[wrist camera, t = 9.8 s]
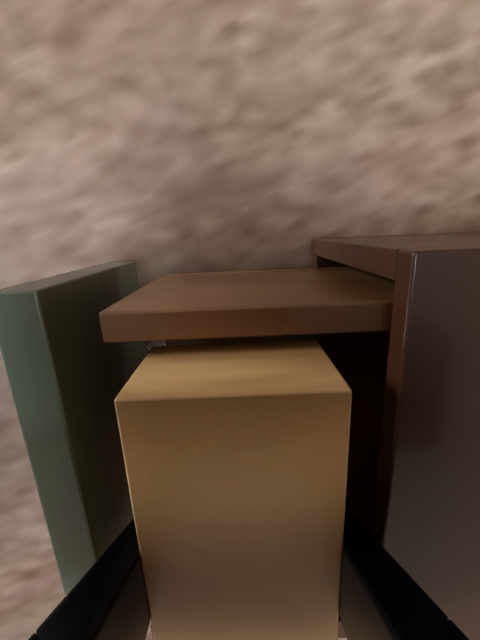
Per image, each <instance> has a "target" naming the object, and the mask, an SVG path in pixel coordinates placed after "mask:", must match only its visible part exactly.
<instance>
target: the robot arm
mask: <svg viewBox="0 0 480 640" xmlns="http://www.w3.org/2000/svg"><path fill="white" fill-rule="evenodd" d="M339 614H340V617H341V620H342V624H343V627H344V630H345V634H346V637H347V640H469V639H468V637H467V636H466V635H465V634H464V633H463V632H462V631H461V630H460V629H459V628H458V627H457V626H456V625H455V624H454V622H453V621H452V620H448V616H447V615H446V614H445V613H444V612H443V611H442V610H441V609H440V608H439V606H438V605H437V604H436V603H435V602H434V601H433V600H432V599H431V598H430V597H429V596H428V595H427V594H426V592H425V591H424V590H423V589H422V588H421V587H420V586H419V585H418V584H417V583H416V582H415V581H414V580H413V578H412V577H411V576H410V575H409V574H408V573H407V572H406V571H405V570H404V569H403V568H402V567H401V566H400V564H399V563H398V562H397V561H396V560H395V559H394V558H393V557H392V556H391V555H390V554H389V553H388V552H387V551H386V549H385V548H384V547H383V546H382V545H381V544H380V543H379V542H378V541H377V540H376V539H375V538H374V537H373V535H372V534H371V533H370V532H369V531H368V530H367V529H366V528H365V527H364V526H363V525H362V524H361V523H360V521H359V520H358V519H357V518H356V517H355V516H354V515H353V514H352V513H351V512H350V511H349V510H348V509H347V507H346V506H345V519H344V535H343V548H342V562H341V579H340V595H339ZM150 618H151V615H150V609H149V603H148V597H147V591H146V585H145V579H144V573H143V567H142V561H141V555H140V551H139V545H138V539H137V533H136V527H135V522H134V518H133V519H132V521H131V522H130V523H129V524H128V525H127V526H126V528H125V529H124V530H123V531H122V532H121V533H120V534H119V536H118V537H117V538H116V539H115V540H114V541H113V543H112V544H111V545H110V546H109V547H108V548H107V549H106V551H105V552H104V553H103V554H102V555H101V556H100V558H99V559H98V560H97V561H96V562H95V563H94V564H93V566H92V567H91V568H90V569H89V570H88V571H87V573H86V574H85V575H84V576H83V577H82V578H81V579H80V581H79V582H78V583H77V584H76V585H75V586H74V588H73V589H72V590H71V591H70V592H69V593H68V594H67V596H66V597H65V598H64V599H63V600H62V601H61V603H60V604H59V605H58V606H57V607H56V608H55V609H54V611H53V612H52V613H51V614H50V615H49V616H48V618H47V619H46V620H45V621H44V622H43V623H42V624H41V626H40V627H39V628H38V629H37V631H36V634H35V633H34V634H33V635H32V636H31V637H30V638H29V639H28V640H145V638H146V634H147V630H148V626H149V622H150Z"/></svg>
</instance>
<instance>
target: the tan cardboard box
mask: <svg viewBox="0 0 480 640" xmlns="http://www.w3.org/2000/svg"><path fill="white" fill-rule="evenodd" d="M351 401H352V390H351V388H350V387H349V385H348V384H347V382H346V381H345V380H344V378H343V377H342V375H341V374H340V373H339V371H338V370H337V368H336V367H335V365H334V364H333V363H332V361H331V360H330V358H329V357H328V356H327V354H326V353H325V351H324V350H323V349H322V347H321V346H320V344H319V343H318V341H317V340H300V341H276V342H252V343H228V344H204V345H180V346H156V347H152V349H151V350H150V351H149V353H148V354H147V356H146V357H145V358H144V360H143V361H142V362H141V364H140V365H139V366H138V368H137V369H136V371H135V372H134V373H133V375H132V376H131V377H130V379H129V380H128V381H127V383H126V384H125V386H124V387H123V388H122V390H121V391H120V392H119V394H118V395H117V396H116V398H115V400H114V403H115V409H116V415H117V421H118V427H119V433H120V438H121V444H122V450H123V456H124V462H125V468H126V474H127V480H128V486H129V492H130V498H131V504H132V510H133V516H134V522H135V527H136V533H137V539H138V545H139V551H140V555H141V561H142V567H143V573H144V579H145V585H146V591H147V597H148V603H149V609H150V615H151V622H152V628H153V634H154V640H337V636H338V619H339V595H340V579H341V562H342V548H343V535H344V519H345V502H346V485H347V468H348V452H349V435H350V418H351Z"/></svg>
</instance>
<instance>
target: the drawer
mask: <svg viewBox="0 0 480 640" xmlns="http://www.w3.org/2000/svg"><path fill="white" fill-rule="evenodd" d="M394 288H395V281H394V280H391V279H388V278H385V277H382V276H379V275H376V274H373V273H369V272H366V271H363V270H360V269H357V268H354V267H351V266H345V267H322V268H298V269H274V270H251V271H227V272H203V273H179V274H163V275H162V276H160V277H159V278H157V279H155V280H154V281H152V282H150V283H149V284H147V285H145V286H143V287H142V288H140V289H139V286H138V279H137V271H136V263H135V261H124V262H108V263H104V264H100V265H96V266H92V267H88V268H84V269H80V270H76V271H72V272H68V273H64V274H60V275H56V276H52V277H48V278H44V279H40V280H36V281H32V282H28V283H24V284H20V285H16V286H12V287H7V288H3V289H0V349H1V353H2V356H3V360H4V364H5V368H6V372H7V375H8V379H9V383H10V387H11V391H12V394H13V398H14V402H15V406H16V410H17V413H18V417H19V421H20V425H21V429H22V432H23V436H24V440H25V444H26V448H27V451H28V455H29V459H30V463H31V467H32V470H33V474H34V478H35V482H36V486H37V489H38V493H39V497H40V501H41V505H42V508H43V512H44V516H45V520H46V524H47V527H48V531H49V535H50V539H51V543H52V546H53V550H54V554H55V558H56V562H57V565H58V569H59V573H60V577H61V581H62V584H63V588H64V592H65V596H67V594H68V593H69V592H70V591H71V590H72V589H73V588H74V586H75V585H76V584H77V583H78V582H79V581H80V579H81V578H82V577H83V576H84V575H85V574H86V573H87V571H88V570H89V569H90V568H91V567H92V566H93V564H94V563H95V562H96V561H97V560H98V559H99V558H100V556H101V555H102V554H103V553H104V552H105V551H106V549H107V548H108V547H109V546H110V545H111V544H112V543H113V541H114V540H115V539H116V538H117V537H118V536H119V534H120V533H121V532H122V531H123V530H124V529H125V528H126V526H127V525H128V524H129V523H130V522H131V521H132V519H133V518H134V516H133V510H132V504H131V498H130V492H129V486H128V480H127V474H126V468H125V462H124V456H123V450H122V444H121V438H120V433H119V427H118V421H117V415H116V409H115V403H114V400H115V398H116V396H117V395H118V394H119V392H120V391H121V390H122V388H123V387H124V386H125V384H126V383H127V381H128V380H129V379H130V377H131V376H132V375H133V373H134V372H135V371H136V369H137V368H138V366H139V365H140V364H141V362H142V361H143V360H144V358H145V357H146V356H147V348H146V341H160V340H166V345H167V346H180V345H204V344H228V343H252V342H276V341H300V340H317V341H318V343H319V344H320V346H321V347H322V349H323V350H324V351H325V353H326V354H327V356H328V357H329V358H330V360H331V361H332V363H333V364H334V365H335V367H336V368H337V370H338V371H339V373H340V374H341V375H342V377H343V378H344V380H345V381H346V382H347V384H348V385H349V387H350V388H351V390H352V401H351V418H350V435H349V452H348V468H347V485H346V502H345V506H346V507H347V509H348V510H349V511H350V512H351V513H352V514H353V515H354V516H355V517H356V518H357V519H358V520H359V521H360V523H361V524H362V525H363V526H364V527H365V528H366V529H367V530H368V531H369V532H370V533H371V534H372V528H373V517H374V506H375V495H376V484H377V473H378V462H379V451H380V440H381V429H382V419H383V408H384V397H385V386H386V375H387V364H388V353H389V342H390V331H391V320H392V310H393V299H394ZM151 630H152V636H153V640H154V634H153V628H152V625H151ZM337 638H346V634H345V630H344V627H343V624H342V620H341V617H340V614H339V619H338V636H337Z"/></svg>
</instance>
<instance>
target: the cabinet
mask: <svg viewBox="0 0 480 640" xmlns="http://www.w3.org/2000/svg"><path fill="white" fill-rule="evenodd" d="M345 266H351V267H354V268H357V269H360V270H363V271H366V272H369V273H373V274H376V275H379V276H382V277H385V278H388V279H391V280H394V281H395V288H394V299H393V310H392V320H391V331H390V342H389V353H388V364H387V375H386V386H385V397H384V408H383V419H382V429H381V440H380V451H379V462H378V473H377V484H376V495H375V506H374V517H373V528H372V535H373V537H374V538H375V539H376V540H377V541H378V542H379V543H380V544H381V545H382V546H383V547H384V548H385V549H386V551H387V552H388V553H389V554H390V555H391V556H392V557H393V558H394V559H395V560H396V561H397V562H398V563H399V564H400V566H401V567H402V568H403V569H404V570H405V571H406V572H407V573H408V574H409V575H410V576H411V577H412V578H413V580H414V581H415V582H416V583H417V584H418V585H419V586H420V587H421V588H422V589H423V590H424V591H425V592H426V594H427V595H428V596H429V597H430V598H431V599H432V600H433V601H434V602H435V603H436V604H437V605H438V606H439V608H440V609H441V610H442V611H443V612H444V613H445V614H446V615H447V616H448V620H452V621H453V622H454V624H455V625H456V626H457V627H458V628H459V629H460V630H461V631H462V632H463V633H464V634H465V635H466V636H467V637H468V639H469V640H480V232H459V233H436V234H412V235H389V236H366V237H342V238H319V239H313V240H312V268H322V267H345Z"/></svg>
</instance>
